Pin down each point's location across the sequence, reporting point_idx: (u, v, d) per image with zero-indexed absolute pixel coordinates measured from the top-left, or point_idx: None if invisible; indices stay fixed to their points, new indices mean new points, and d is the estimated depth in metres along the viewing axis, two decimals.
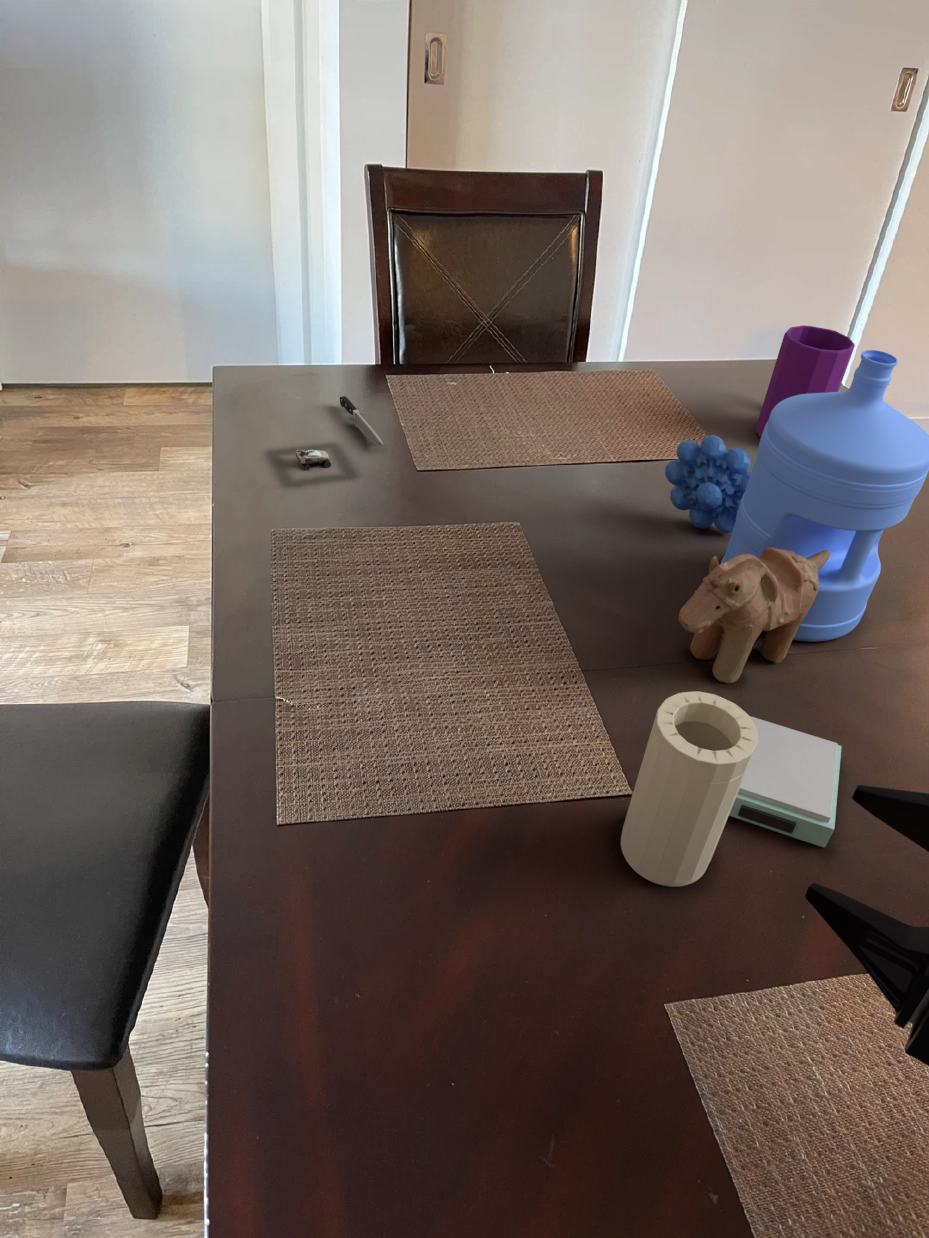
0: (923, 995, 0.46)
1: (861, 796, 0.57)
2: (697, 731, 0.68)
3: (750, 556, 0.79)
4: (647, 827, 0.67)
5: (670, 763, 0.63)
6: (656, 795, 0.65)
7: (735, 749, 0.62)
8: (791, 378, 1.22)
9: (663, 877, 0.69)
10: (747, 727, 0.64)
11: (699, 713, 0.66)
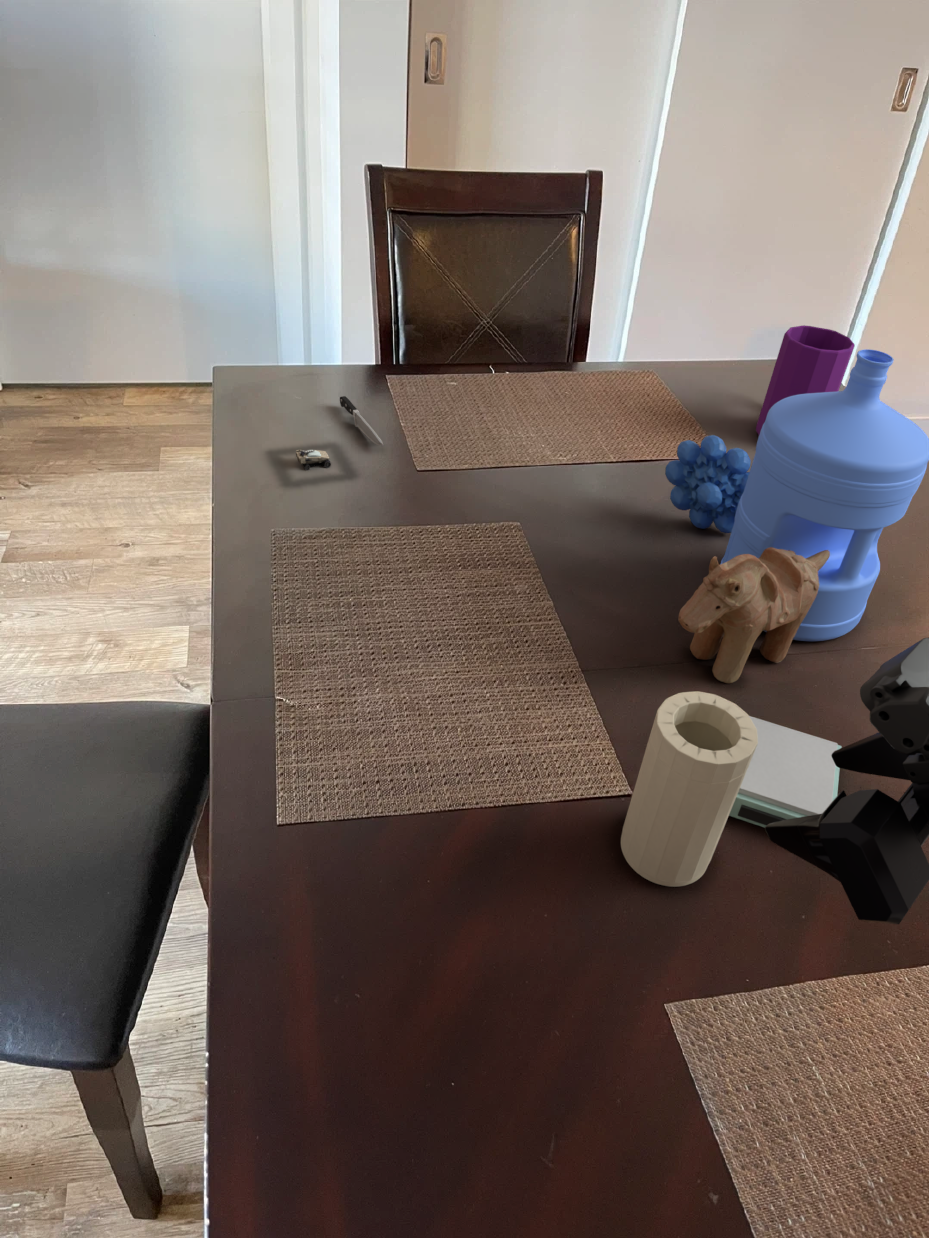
0: None
1: (839, 760, 0.62)
2: (697, 731, 0.68)
3: (750, 556, 0.79)
4: (647, 827, 0.67)
5: (670, 763, 0.63)
6: (656, 795, 0.65)
7: (735, 749, 0.62)
8: (791, 378, 1.22)
9: (663, 877, 0.69)
10: (747, 727, 0.64)
11: (699, 713, 0.66)
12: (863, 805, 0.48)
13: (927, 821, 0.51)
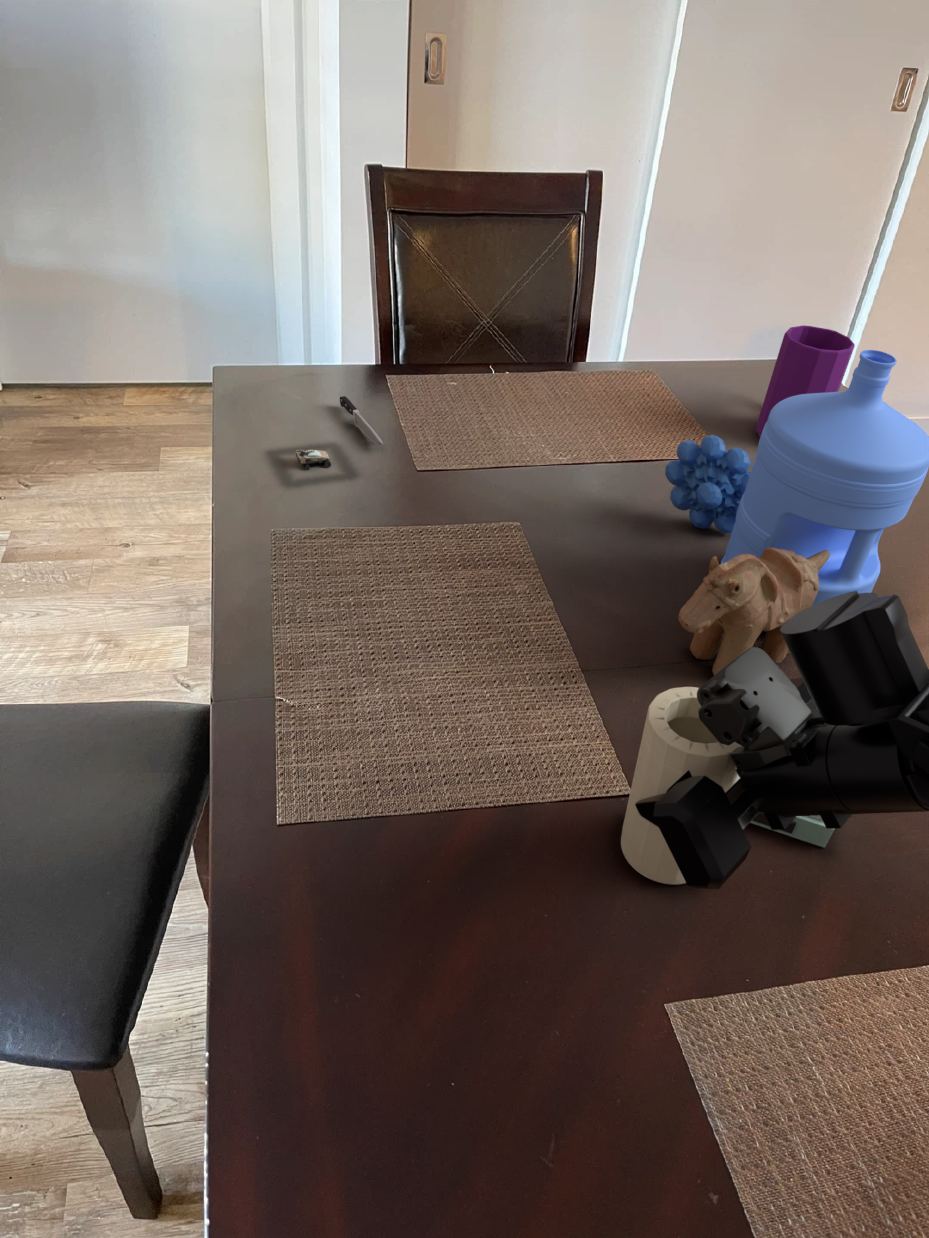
0: None
1: None
2: (691, 727, 0.68)
3: (750, 556, 0.79)
4: (645, 825, 0.67)
5: (663, 758, 0.63)
6: (652, 791, 0.65)
7: None
8: (791, 378, 1.22)
9: (664, 875, 0.69)
10: None
11: (691, 708, 0.66)
12: (690, 789, 0.57)
13: (751, 803, 0.60)
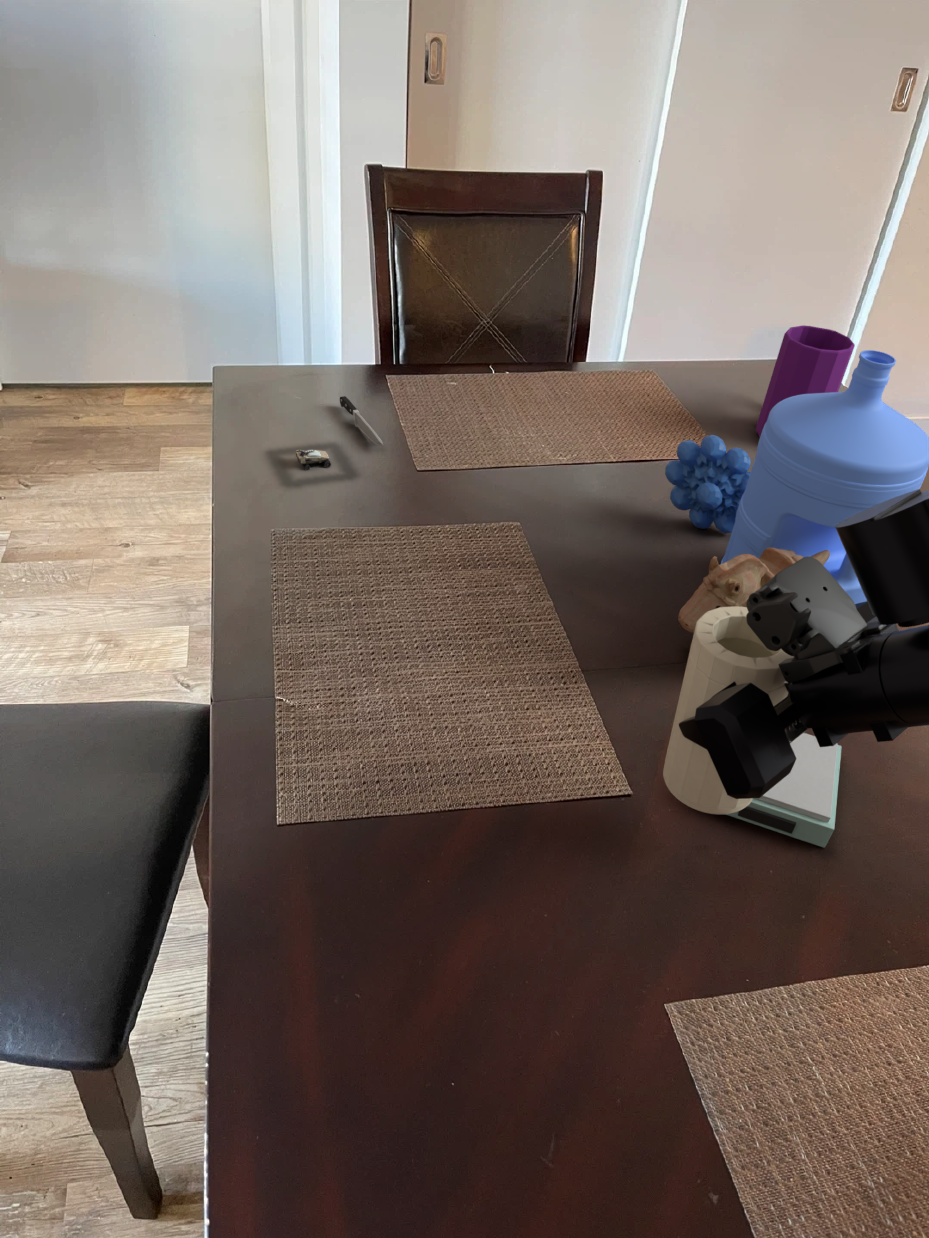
0: None
1: None
2: (740, 651, 0.66)
3: (750, 556, 0.79)
4: (687, 748, 0.65)
5: (709, 672, 0.61)
6: None
7: (777, 657, 0.60)
8: (791, 378, 1.22)
9: (706, 803, 0.67)
10: None
11: (741, 628, 0.64)
12: (734, 693, 0.55)
13: (799, 717, 0.57)
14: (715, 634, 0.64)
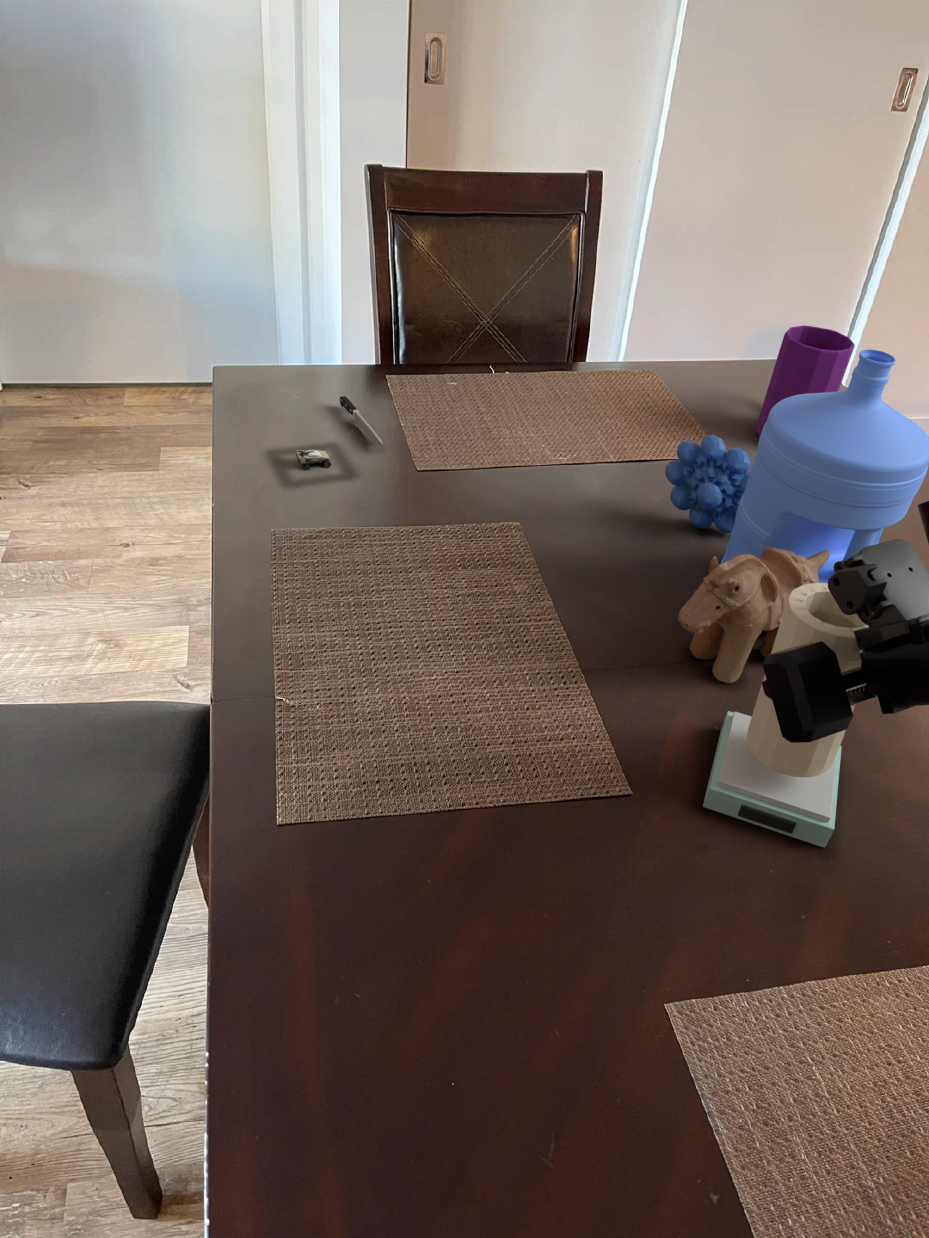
0: None
1: None
2: None
3: (750, 556, 0.79)
4: (768, 706, 0.71)
5: (793, 634, 0.67)
6: None
7: None
8: (791, 378, 1.22)
9: (779, 762, 0.72)
10: None
11: (836, 604, 0.69)
12: (803, 647, 0.61)
13: (866, 682, 0.62)
14: (809, 605, 0.69)
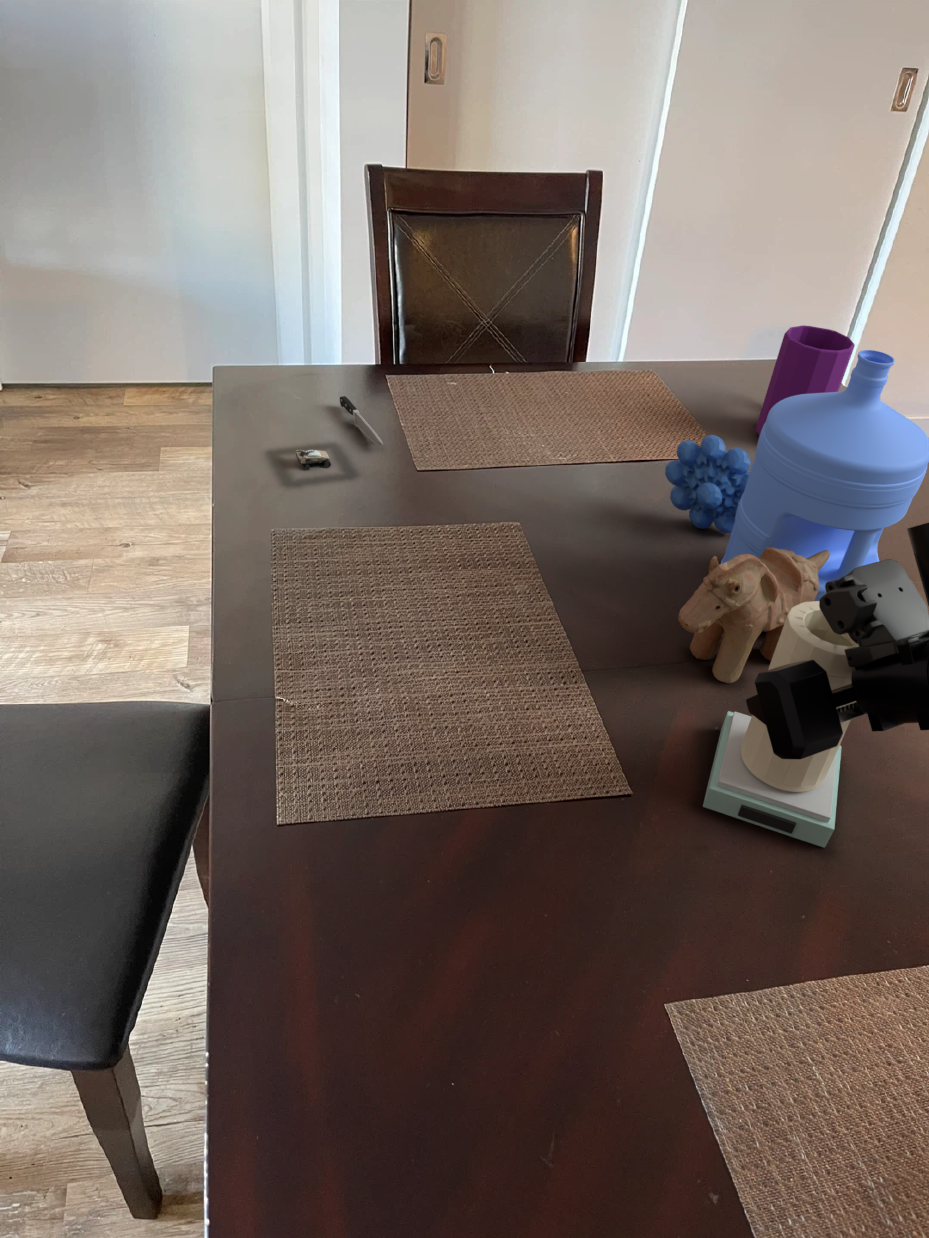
0: None
1: None
2: None
3: (750, 556, 0.79)
4: None
5: (792, 651, 0.68)
6: None
7: None
8: (791, 378, 1.22)
9: (773, 776, 0.73)
10: None
11: None
12: (794, 665, 0.62)
13: (856, 700, 0.63)
14: (807, 623, 0.71)
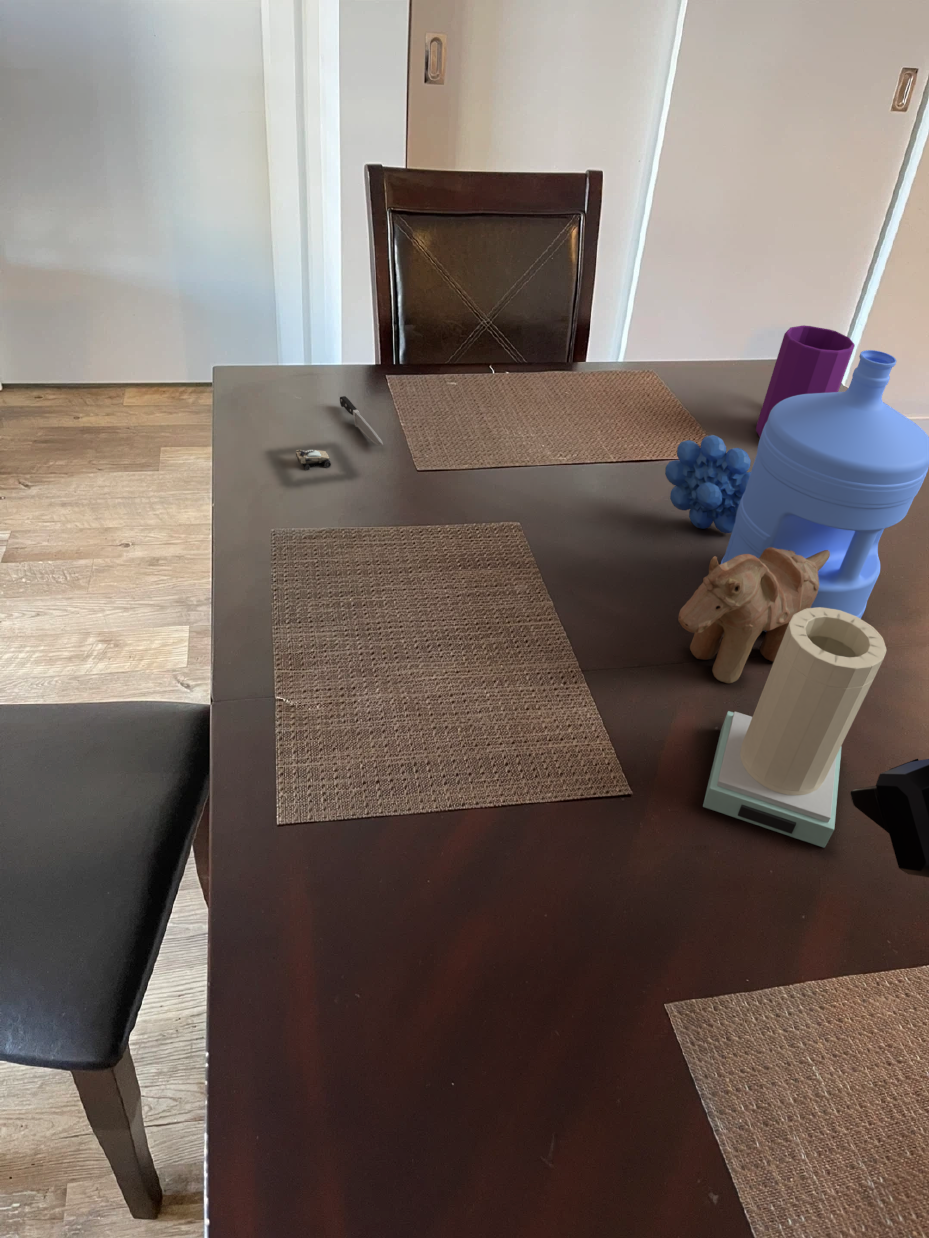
0: None
1: None
2: (833, 651, 0.72)
3: (750, 556, 0.79)
4: (764, 726, 0.72)
5: (792, 660, 0.68)
6: (776, 693, 0.70)
7: (858, 659, 0.66)
8: (791, 378, 1.22)
9: (772, 780, 0.74)
10: (877, 646, 0.67)
11: (835, 629, 0.70)
12: (924, 766, 0.53)
13: None
14: (809, 630, 0.70)
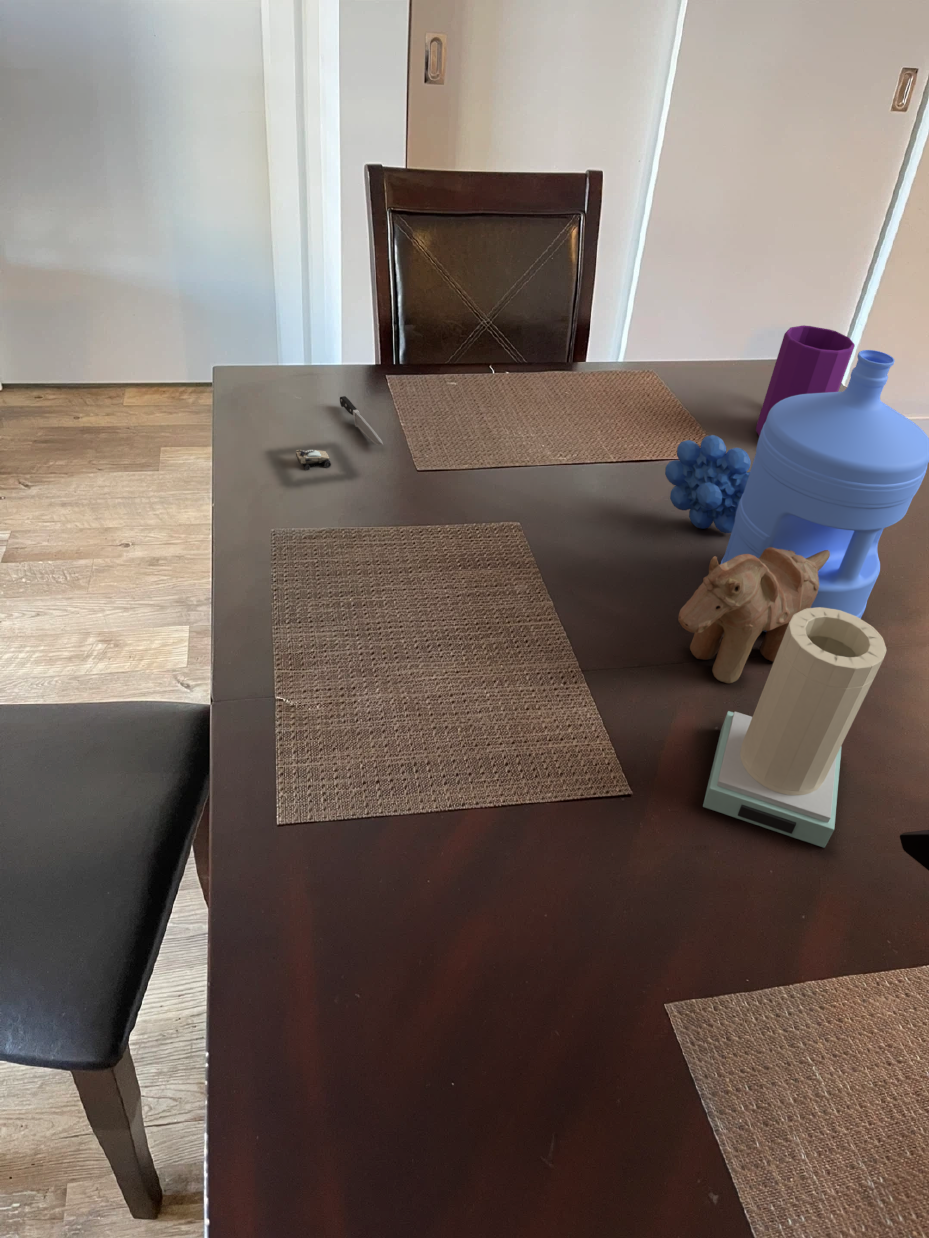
0: None
1: None
2: (833, 651, 0.72)
3: (750, 556, 0.79)
4: (764, 726, 0.72)
5: (792, 660, 0.68)
6: (776, 693, 0.70)
7: (858, 659, 0.66)
8: (791, 378, 1.22)
9: (772, 780, 0.74)
10: (877, 646, 0.67)
11: (835, 629, 0.70)
12: None
13: None
14: (809, 630, 0.70)
